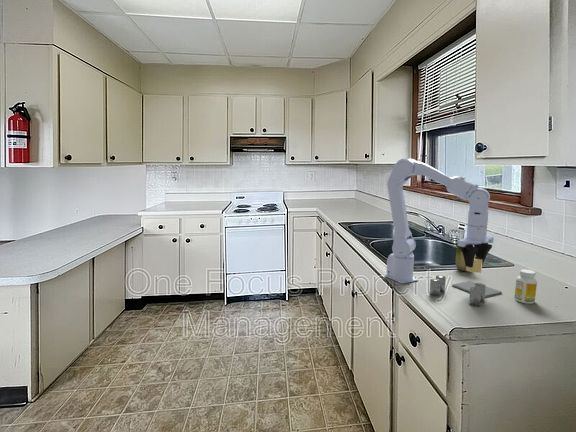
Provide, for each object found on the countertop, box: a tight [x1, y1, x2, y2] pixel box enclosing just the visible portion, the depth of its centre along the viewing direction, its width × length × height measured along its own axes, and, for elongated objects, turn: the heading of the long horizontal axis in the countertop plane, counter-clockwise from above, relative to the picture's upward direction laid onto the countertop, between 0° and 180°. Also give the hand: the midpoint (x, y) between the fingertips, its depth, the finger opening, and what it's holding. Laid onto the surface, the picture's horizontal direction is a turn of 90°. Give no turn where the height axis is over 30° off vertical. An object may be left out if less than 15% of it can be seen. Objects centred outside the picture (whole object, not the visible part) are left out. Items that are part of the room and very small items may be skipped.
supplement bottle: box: [513, 268, 538, 305], centre depth 110 cm, size 5×5×10 cm
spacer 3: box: [468, 287, 481, 308], centre depth 107 cm, size 3×3×5 cm
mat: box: [451, 280, 503, 298], centre depth 120 cm, size 12×9×1 cm
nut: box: [466, 256, 483, 274], centre depth 117 cm, size 5×4×4 cm
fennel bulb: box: [455, 241, 468, 272], centre depth 141 cm, size 6×5×12 cm
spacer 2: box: [435, 274, 447, 293], centre depth 119 cm, size 3×3×5 cm
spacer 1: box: [429, 278, 441, 298], centre depth 115 cm, size 3×3×5 cm
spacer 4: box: [475, 282, 487, 303], centre depth 111 cm, size 3×3×5 cm
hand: (474, 265), depth 117 cm, fingers closed on nut, 4 cm apart
